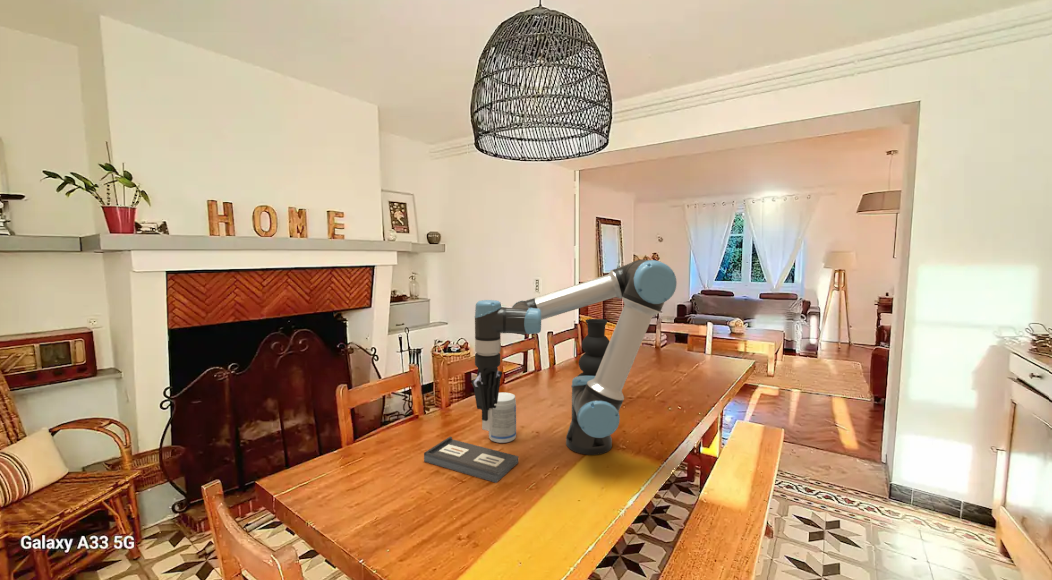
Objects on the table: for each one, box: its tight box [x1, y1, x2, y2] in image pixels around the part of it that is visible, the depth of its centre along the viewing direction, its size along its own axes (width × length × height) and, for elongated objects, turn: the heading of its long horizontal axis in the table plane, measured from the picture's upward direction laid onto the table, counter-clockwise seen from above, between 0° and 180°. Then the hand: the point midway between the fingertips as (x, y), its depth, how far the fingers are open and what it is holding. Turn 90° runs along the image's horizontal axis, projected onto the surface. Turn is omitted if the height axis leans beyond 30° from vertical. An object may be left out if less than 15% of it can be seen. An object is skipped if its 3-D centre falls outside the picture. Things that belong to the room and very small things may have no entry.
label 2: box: [473, 453, 505, 467], centre depth 130 cm, size 8×5×1 cm, turn 62°
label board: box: [423, 436, 519, 484], centre depth 134 cm, size 26×13×3 cm, turn 62°
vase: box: [576, 318, 610, 377], centre depth 183 cm, size 18×18×35 cm
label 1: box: [439, 444, 469, 457], centre depth 136 cm, size 8×5×1 cm, turn 62°
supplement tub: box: [488, 391, 517, 444], centre depth 150 cm, size 10×10×15 cm
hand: (487, 429), depth 131 cm, fingers closed
